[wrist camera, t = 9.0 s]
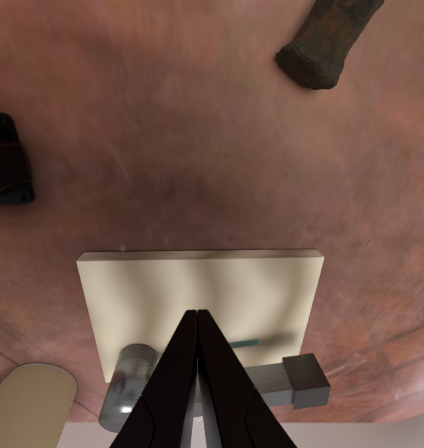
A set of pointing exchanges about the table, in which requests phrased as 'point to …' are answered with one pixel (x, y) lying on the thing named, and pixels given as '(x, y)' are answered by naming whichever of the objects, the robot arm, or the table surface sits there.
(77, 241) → the table surface
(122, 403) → the lever
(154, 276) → the board
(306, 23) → the wooden log
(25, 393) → the lidded canister
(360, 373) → the table surface
